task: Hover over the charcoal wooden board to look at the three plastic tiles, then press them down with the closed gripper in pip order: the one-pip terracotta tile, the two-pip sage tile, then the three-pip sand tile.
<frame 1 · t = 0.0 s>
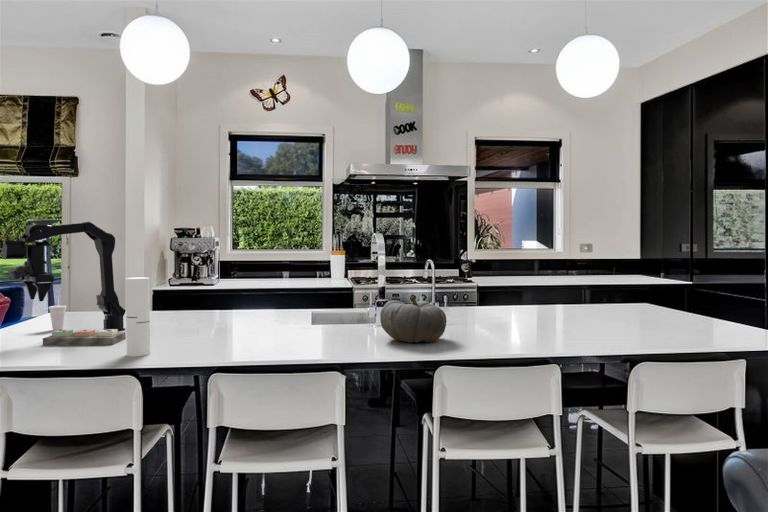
hand: (36, 300, 215), 15 cm above the counter, fingers open, 9 cm apart
tile three: (107, 334, 211), point 3 cm above the counter, slide at 0.0 cm
smoothie: (57, 330, 237), on the counter
tile two: (62, 334, 210), point 3 cm above the counter, slide at 0.0 cm
tile one: (85, 334, 210), point 3 cm above the counter, slide at 0.0 cm
cylindrical container: (138, 354, 189), on the counter
gourd: (413, 340, 216), on the counter
tile board: (85, 342, 210), on the counter
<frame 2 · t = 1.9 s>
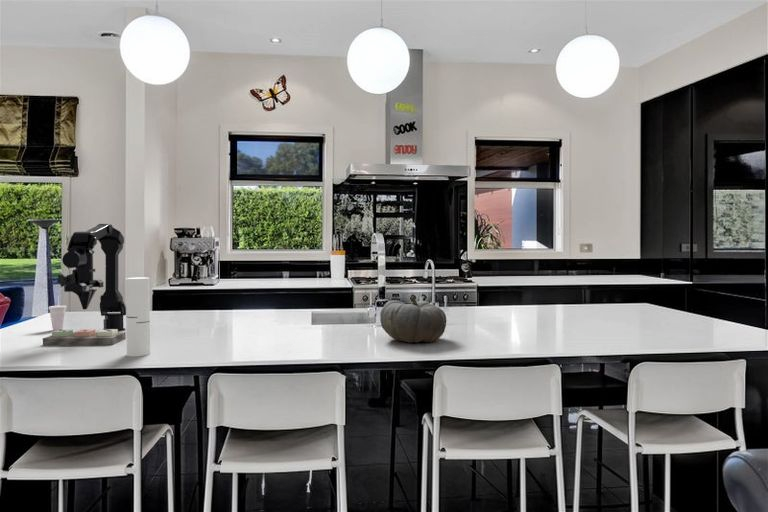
hand: (85, 309, 210), 12 cm above the counter, fingers closed
nothing on the counter moved.
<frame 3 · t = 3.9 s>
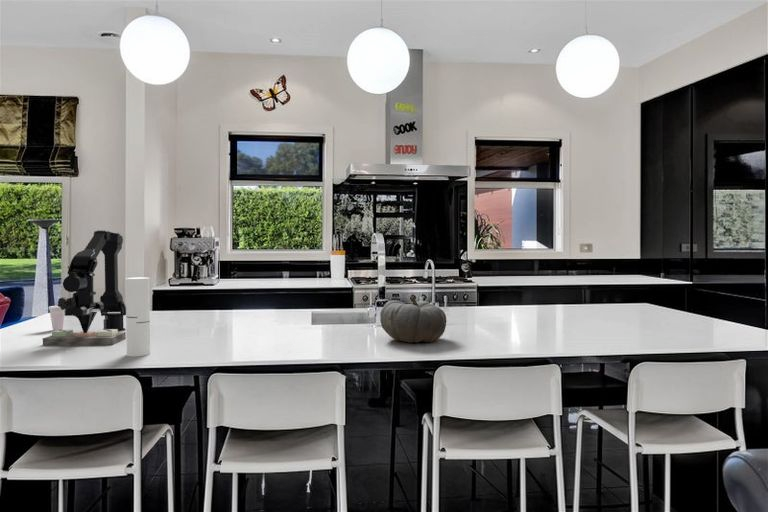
hand: (85, 332, 210), 4 cm above the counter, fingers closed, pressing on tile one
tile one: (85, 336, 210), point 2 cm above the counter, slide at 0.8 cm, touching gripper
everything else where it was.
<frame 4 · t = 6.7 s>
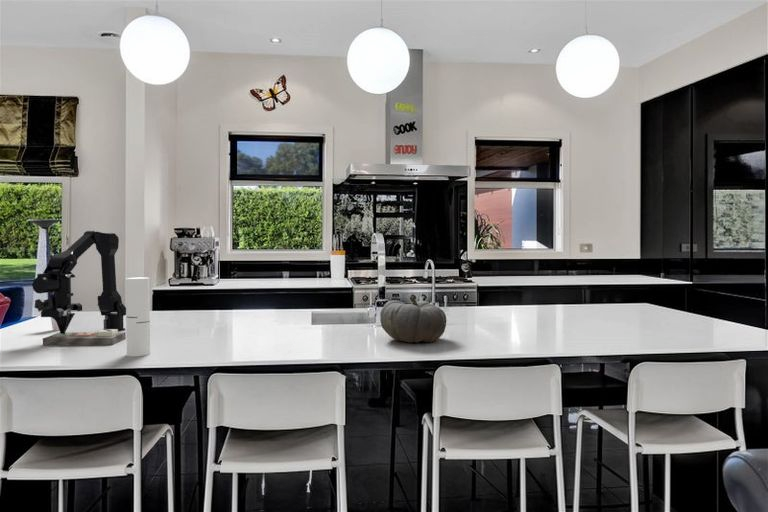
hand: (62, 333, 210), 3 cm above the counter, fingers closed, pressing on tile two
tile two: (62, 337, 210), point 2 cm above the counter, slide at 1.0 cm, touching gripper
tile one: (85, 337, 210), point 2 cm above the counter, slide at 1.0 cm
everything else where it was.
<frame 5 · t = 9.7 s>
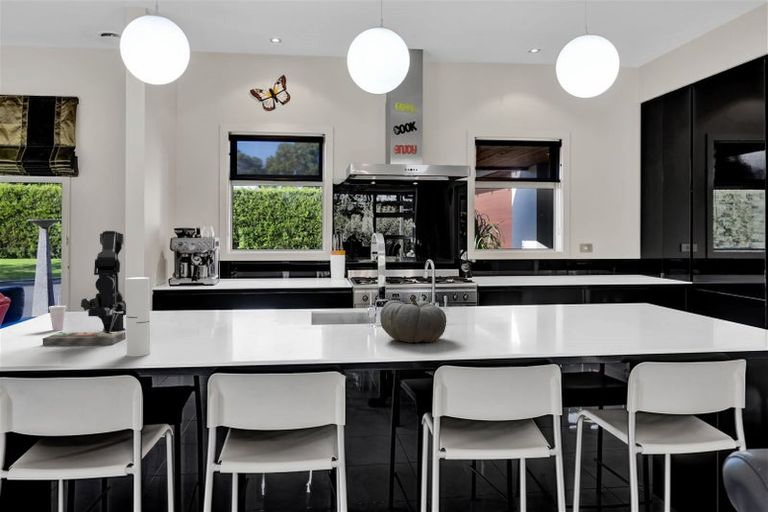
hand: (107, 332, 211), 3 cm above the counter, fingers closed, pressing on tile three
tile three: (108, 337, 211), point 2 cm above the counter, slide at 1.0 cm, touching gripper
tile two: (62, 337, 210), point 2 cm above the counter, slide at 1.0 cm
everything else where it was.
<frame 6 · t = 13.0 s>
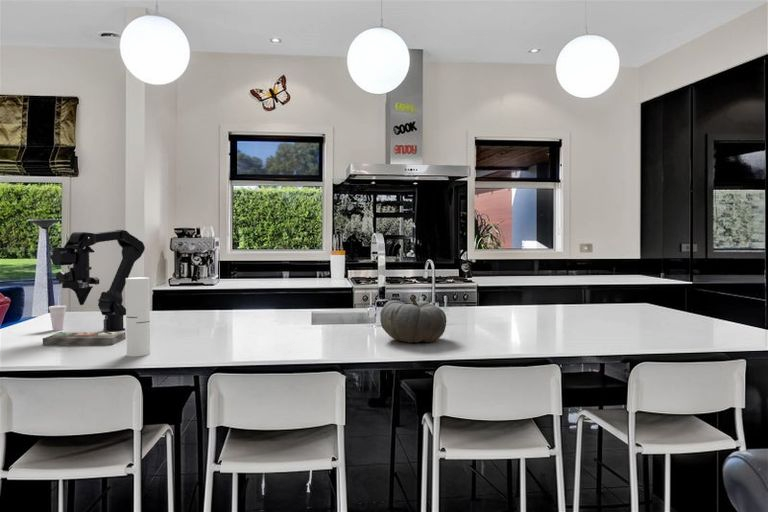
hand: (81, 304, 223), 12 cm above the counter, fingers closed
tile three: (108, 337, 211), point 2 cm above the counter, slide at 1.0 cm
everything else where it was.
at the end: tile one slide at 1.0 cm; tile two slide at 1.0 cm; tile three slide at 1.0 cm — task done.
